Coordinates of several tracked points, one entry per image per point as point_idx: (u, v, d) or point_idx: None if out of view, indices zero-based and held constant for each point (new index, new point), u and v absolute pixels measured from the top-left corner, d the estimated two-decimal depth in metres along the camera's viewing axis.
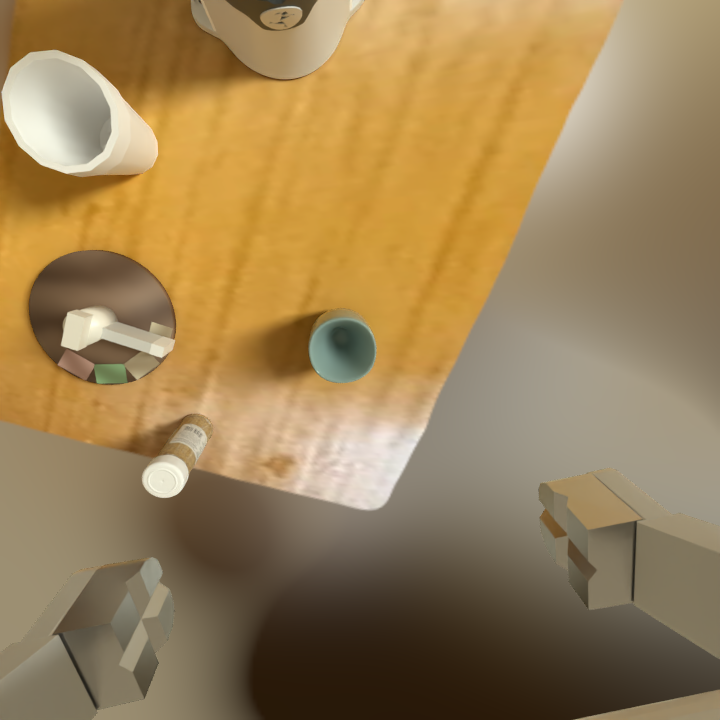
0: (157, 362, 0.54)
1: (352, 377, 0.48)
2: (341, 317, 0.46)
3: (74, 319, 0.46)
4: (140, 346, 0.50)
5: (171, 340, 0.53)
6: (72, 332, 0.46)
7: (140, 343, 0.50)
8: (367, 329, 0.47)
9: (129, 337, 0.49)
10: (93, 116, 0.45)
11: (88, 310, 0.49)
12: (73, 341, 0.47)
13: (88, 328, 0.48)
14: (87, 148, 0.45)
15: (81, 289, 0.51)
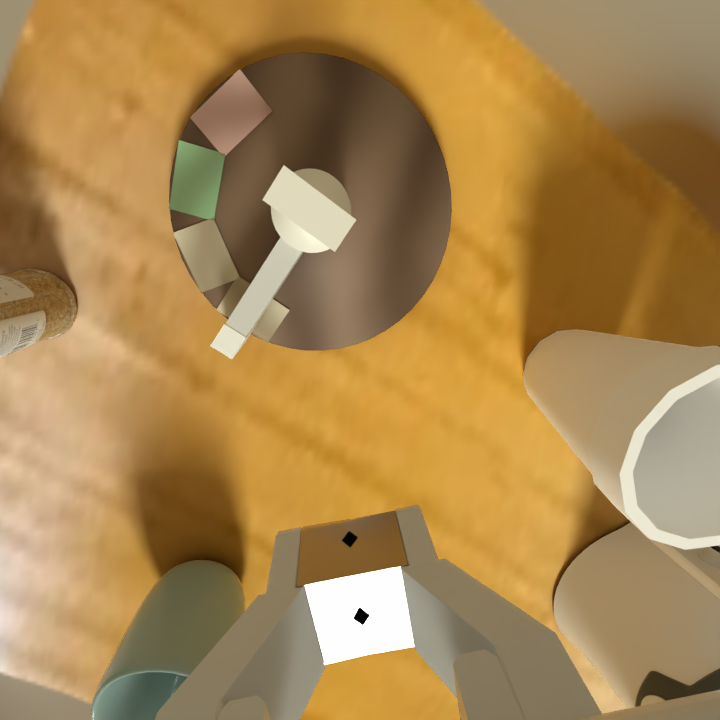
0: (204, 289, 0.26)
1: None
2: None
3: (336, 227, 0.20)
4: (245, 312, 0.23)
5: (245, 341, 0.26)
6: (308, 208, 0.19)
7: (251, 314, 0.23)
8: None
9: (268, 298, 0.23)
10: None
11: None
12: (287, 200, 0.19)
13: None
14: None
15: (382, 203, 0.26)
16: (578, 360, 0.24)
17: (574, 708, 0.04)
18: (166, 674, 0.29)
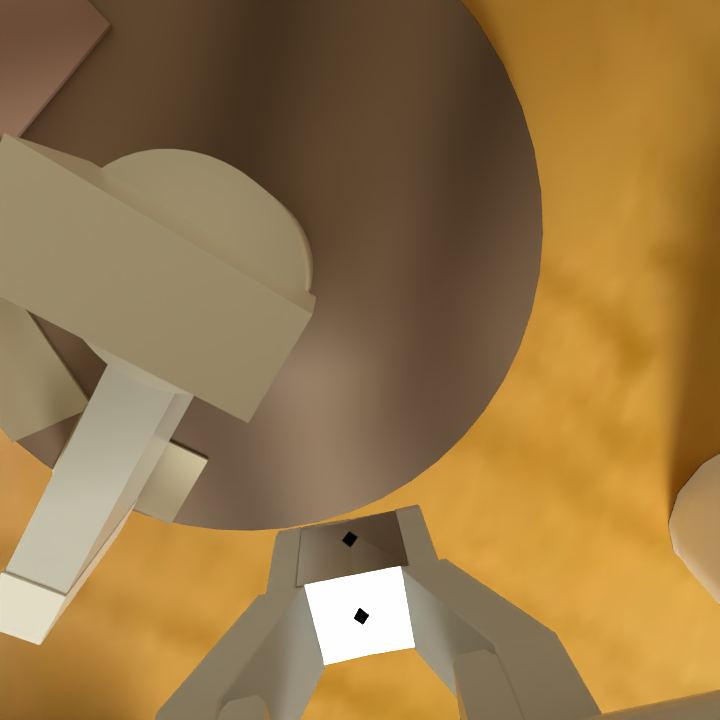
0: (19, 435, 0.12)
1: None
2: None
3: (245, 345, 0.06)
4: (52, 541, 0.09)
5: (113, 539, 0.12)
6: (134, 289, 0.05)
7: (71, 544, 0.09)
8: None
9: (108, 502, 0.09)
10: None
11: None
12: (47, 267, 0.05)
13: None
14: None
15: (389, 228, 0.11)
16: None
17: (574, 708, 0.04)
18: None
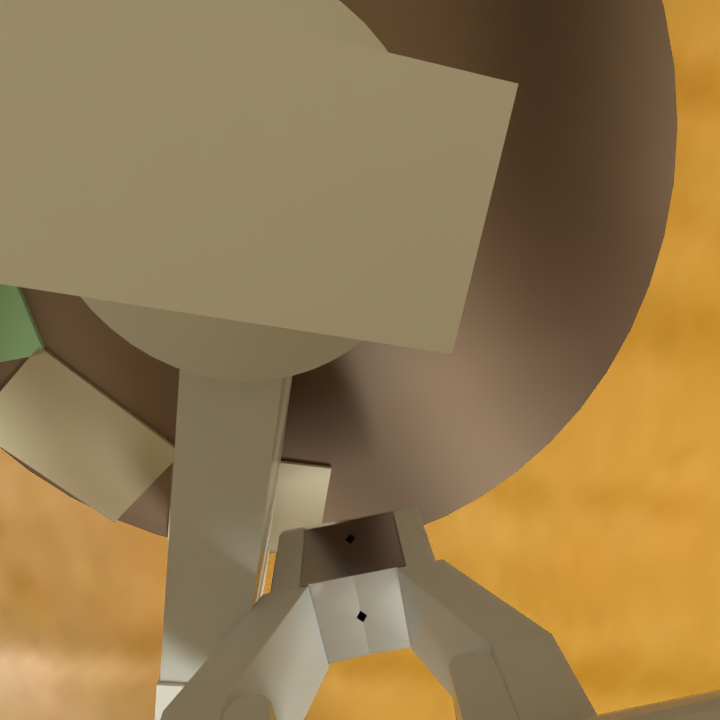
0: (118, 511, 0.10)
1: None
2: None
3: (407, 203, 0.03)
4: (200, 628, 0.07)
5: (262, 593, 0.10)
6: (170, 167, 0.03)
7: (223, 626, 0.07)
8: None
9: (249, 559, 0.06)
10: None
11: None
12: (3, 185, 0.03)
13: None
14: None
15: None
16: None
17: (569, 709, 0.04)
18: None
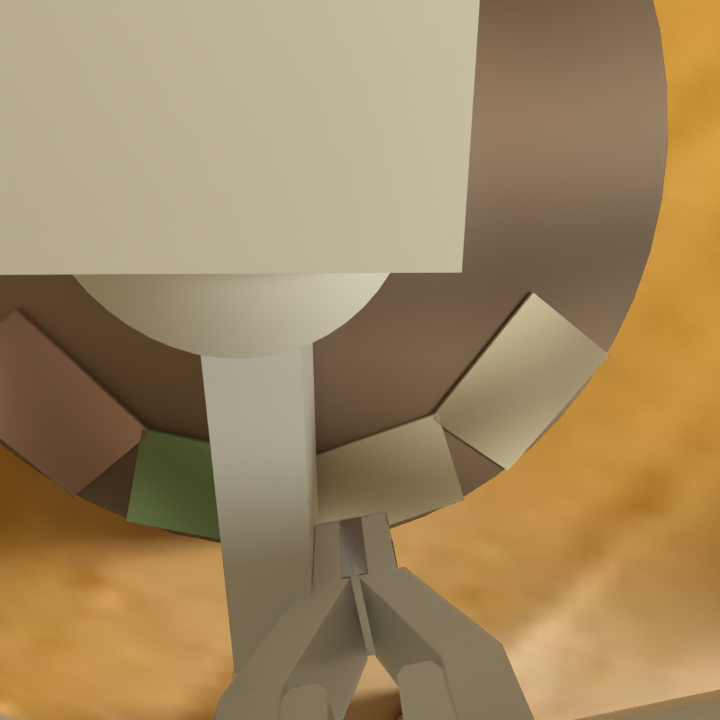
0: (457, 491, 0.11)
1: None
2: None
3: (390, 123, 0.03)
4: (264, 615, 0.07)
5: None
6: (154, 129, 0.03)
7: (286, 609, 0.07)
8: None
9: (301, 538, 0.06)
10: None
11: None
12: (1, 176, 0.03)
13: None
14: None
15: None
16: None
17: None
18: None
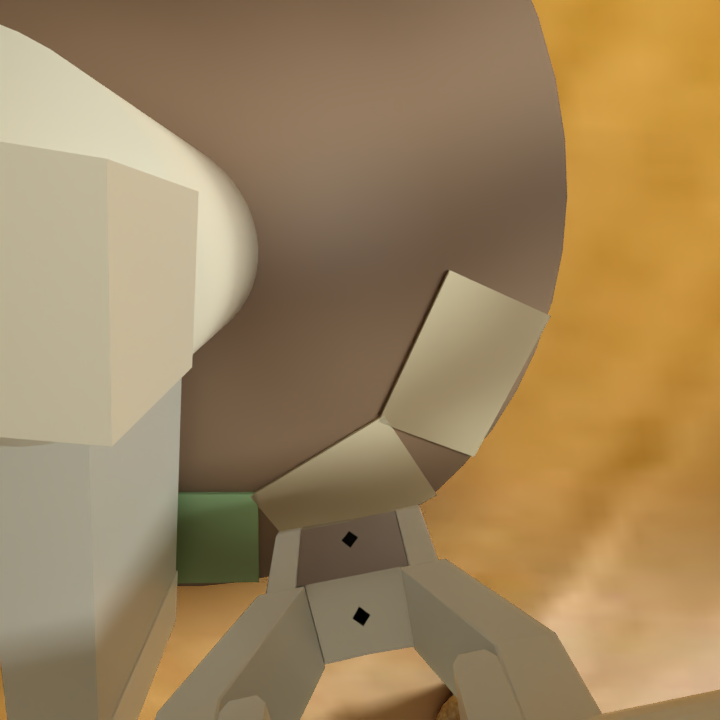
0: (427, 488, 0.10)
1: None
2: None
3: (12, 292, 0.03)
4: (44, 691, 0.06)
5: (168, 630, 0.10)
6: None
7: (68, 686, 0.06)
8: None
9: (85, 618, 0.06)
10: None
11: (216, 266, 0.05)
12: None
13: None
14: None
15: (35, 12, 0.07)
16: None
17: (574, 707, 0.04)
18: None
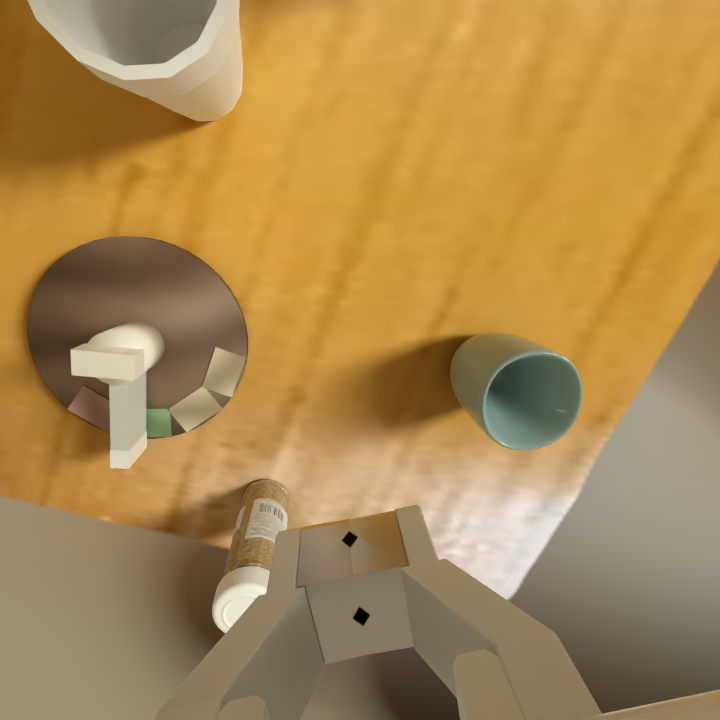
0: (219, 406, 0.37)
1: (539, 441, 0.31)
2: (536, 349, 0.29)
3: (125, 366, 0.29)
4: (118, 436, 0.32)
5: (144, 447, 0.36)
6: (101, 364, 0.28)
7: (122, 436, 0.32)
8: (574, 369, 0.30)
9: (126, 420, 0.32)
10: (151, 17, 0.28)
11: (149, 356, 0.31)
12: (86, 367, 0.28)
13: None
14: None
15: (111, 296, 0.33)
16: (148, 98, 0.26)
17: (574, 708, 0.04)
18: (529, 393, 0.34)
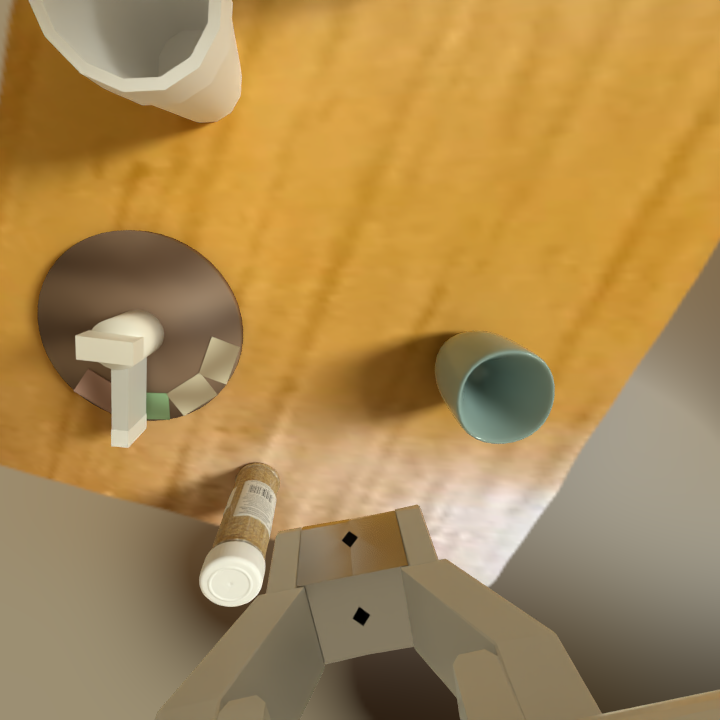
0: (214, 393, 0.39)
1: (512, 435, 0.33)
2: (510, 348, 0.31)
3: (125, 352, 0.31)
4: (118, 417, 0.35)
5: (143, 428, 0.38)
6: (103, 350, 0.31)
7: (123, 417, 0.35)
8: (547, 368, 0.31)
9: (126, 402, 0.34)
10: (155, 24, 0.29)
11: (148, 343, 0.33)
12: (89, 352, 0.31)
13: None
14: (143, 73, 0.29)
15: (115, 286, 0.36)
16: None
17: (574, 708, 0.04)
18: (508, 389, 0.36)
